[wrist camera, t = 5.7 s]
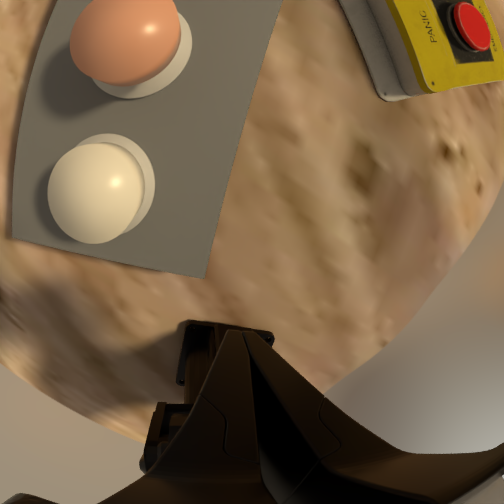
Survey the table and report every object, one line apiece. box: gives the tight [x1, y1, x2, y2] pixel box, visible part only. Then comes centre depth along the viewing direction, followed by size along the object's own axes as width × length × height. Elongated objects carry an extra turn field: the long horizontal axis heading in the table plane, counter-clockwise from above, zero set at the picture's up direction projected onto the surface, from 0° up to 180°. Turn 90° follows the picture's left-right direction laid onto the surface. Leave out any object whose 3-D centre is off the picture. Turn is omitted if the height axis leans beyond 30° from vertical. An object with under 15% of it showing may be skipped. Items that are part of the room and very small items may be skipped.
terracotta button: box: [70, 0, 181, 87], centre depth 9 cm, size 4×4×2 cm
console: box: [12, 0, 283, 279], centre depth 13 cm, size 22×12×3 cm, turn 164°
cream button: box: [48, 142, 145, 244], centre depth 12 cm, size 4×4×2 cm
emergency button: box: [339, 0, 504, 102], centre depth 13 cm, size 9×4×15 cm
